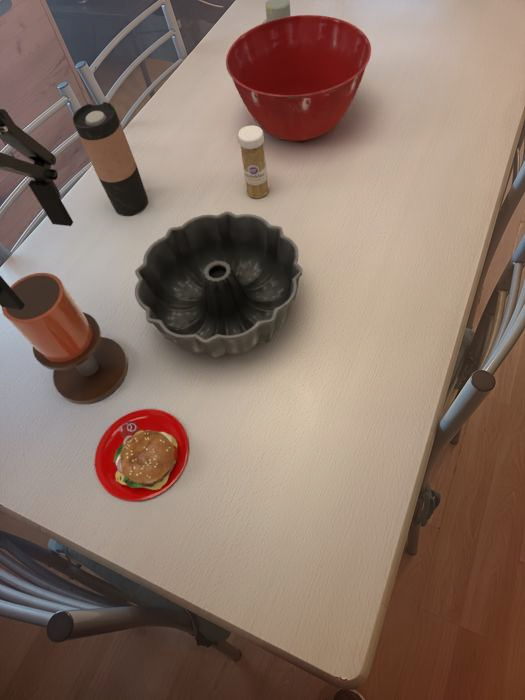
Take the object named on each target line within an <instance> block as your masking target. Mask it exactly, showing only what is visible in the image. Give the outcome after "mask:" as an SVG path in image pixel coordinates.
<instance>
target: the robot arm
mask: <svg viewBox="0 0 525 700" xmlns="http://www.w3.org/2000/svg"><path fill="white" fill-rule="evenodd" d="M0 140H1V141H2V142H5V144H7V145H8V146H10V147H11V148H13V149H14V150H15V151H17V152H19V153H20V154H21V155H22V156H24V157H25V158H26V159H28V160H29V161H31V162H32V163H31V162H29V161H25V160H23V159H19V158H16V157H15V156H12V155H10V154H7V153H4V152H0V171H1V170H2V171H4V172H5V171H6V172H9V173H12V174H17V175H19V176H23V177H27V178H29V179H30V178H31V180H30V181H29V182H28V187H29V188H30V190H31V192H32V193H33V195H34V197H35V198H36V200H37V201H38V203H39V205H40V206H41V208H42V209H43V212H44V213H45V214H46V216H47V217H48V219H49V221H50V222H51V224H52V225H57V226H64V227H65V226H66V227H72V225H73V224H74V221H73V218H72V217H71V215H70V214H69V212H68V210H67V207H66V206H65V205H64V202H63V201H62V199H61V197H62V196H61V192H60V190H59V189H58V187H57V184H56V183H55V181H56V180H58V177H59V175H58V171H57V169H54V168H52V166H55V165H56V163H57V157H56V155H55V154H54V153H52V152H51V151H50V150H49V149H47V148H46V147H45V146H43V145H42V144H41V143H40V142H38V141H37V140H35V139H34V138H33V137H32V136H31V135H29V134H28V132H26V131H24V130H23V129H22V128H21V127H19V126H18V125H17V124H16V123H15V122H14V120H13V118H12V117H11V116H10V114H9V113H8V111H7V110H6V109H4V108H0ZM32 179H33V180H32ZM10 287H11V285H9V283H7V282H6V280H5V279H4V278H3V277H2V275H0V306H1V308H2V307H6V308H12V309H19V310H22V309H23V307H24V306H25V304H24V303H23V302H22V301H21V300H20V298H19V297H18V296H17V295H16V294H15V292H14V291H13V290H12V289H11V288H10Z"/></svg>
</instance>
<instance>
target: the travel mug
mask: <svg viewBox="0 0 525 700" xmlns="http://www.w3.org/2000/svg"><path fill="white" fill-rule="evenodd" d="M119 118H120V117H119V116H118V114H117V111H116V108H115V107H114V105H112V103H110V102H107V101H103V102H102V103H100V104H92V103H87V104H84V105H82V106H81V107H79V108H78V109H77V110H76V111H75V112H74V113H73V116H72V122H73V125H74V127H75V130H76V132H77V134H78V136H79V138H80V140H81V142H82V145H83V147H84V150H85V151H86V154H87V156H88V158H89V160H90V163H91V165H92V168H93V169H94V171H95V174H96V176H97V178H98V180H99V182H100V184H101V186H102V188H103V190H104V192H105V194H106V195H107V197H108V199H109V201H110V203H111V205H112V207H113V209H114V211H115V212H116V213H117V214H118V215H120V216H123V217H131V216H135V215H137V214H140V213H141V212H143V211H144V210H145V209H146V207H147V206H148V203H149V199H148V195H147V191H146V189H145V186H144V183H143V179H142V176H141V174H140V171H139V167H138V165H137V162H136V160H135V156H134V154H133V152H132V150H131V147H130V144H129V142H128V139H127V136H126V134H125V132H124V128H123V126H122V123H121V121H120V119H119Z"/></svg>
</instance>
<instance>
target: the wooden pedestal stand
mask: <svg viewBox="0 0 525 700" xmlns="http://www.w3.org/2000/svg"><path fill="white" fill-rule="evenodd" d="M82 312H83V314H84V315H85V316H86V318H87V319H88V321H89V322H90V324H91V326H92V329H93V337H92V340H91V342H90V344H89V346H88V347H87V349H86V350H85V351H84V352H83V353H82V354H80V355H79V356H77V357H76V358H74V359H71V360H69V361H65V362H52V361H49V360H47V359H45V358H44V357H43V356H42V355H41V354H40V353H39V352H38V351H37V350H36V349H35V348H34V347H33V346H32V352H33V356H34V358H35V359H36V361H37V362H38V363H39V364H40V365H41V366H43V367H44V368H46V369H48V370H53V373H52V379H53V381H52V382H53V384H54V388H55V389H56V391H57V392H58V393H59V394H60V395H61V397H62V398H64V399H65V400H67V401H68V402H70V403H74V404H78V405H91V404H95V403H98V402H101V401H103V400H105V399H107V398H108V397H110V396H112V395H113V394H114V393H115V392H116V391H117V390H118V389H119V388H120V387H121V386H122V384H123V382H124V380H125V378H126V376H127V374H128V369H129V364H128V363H129V362H128V356H127V354H126V352H125V351H124V349H123V347H122V346H121V345H120V344H119V343H118V342H117V341H115V340H113V339H111V338H108V337H105V336H102V331H101V327H100V325H99V323H98V321H97V320H96V318H94V317H93V316H92V315H91V314H89V313H87V312H84V311H82Z"/></svg>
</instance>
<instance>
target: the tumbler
mask: <svg viewBox="0 0 525 700" xmlns="http://www.w3.org/2000/svg"><path fill="white" fill-rule="evenodd" d="M10 288H11V289H12V290H13V291H14V292H15V294H16V295H17V296H18V297H19V298H20V300H21V301H22V302H23V303H24V304H25V306H24V307H23V309H22V310H19V309H12V308H6V307H2V306H1V311H2V314H3V315H4V317H5V318H6V319H7V320H8V321H9V322H10V323H11V324H12V325H13V327H15V329H16V330H17V331H18V332H19V333H20V334H21V335H22V336H23V337H24V338H25V339H26V340H27V342H28V343H29V344H30V345H31V347H32V348H33V347H34V348H35V349H36V350H37V351H38V352H39V353H40V354H41V355H42V356H43V357H44V358H45V359H47V360H49V361H52V362H65V361H69V360H71V359H74V358H76V357H77V356H79V355H80V354H82V353H83V352H84V351H85V350H86V349H87V347H88V346H89V344H90V342H91V340H92V337H93V329H92V326H91V324H90V322H89V321H88V319H87V318H86V316H85V315H84V314H83V312H84V311H82V309H81V308H80V306H79V305H78V303H77V302H76V301H75V299H74V298H73V296H72V295H71V293H70V292H69V290H68V289H67V288H66V286H65V285H64V283H63V282H62V280H61V279H60V278H59V277H58V276H56V275H54V274H52V273H49V272H35V273H31V274H28V275H26V276H23V277H21V278H19V279H18V280H16V281H15V282H14V283H13V284H11V285H10Z"/></svg>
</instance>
